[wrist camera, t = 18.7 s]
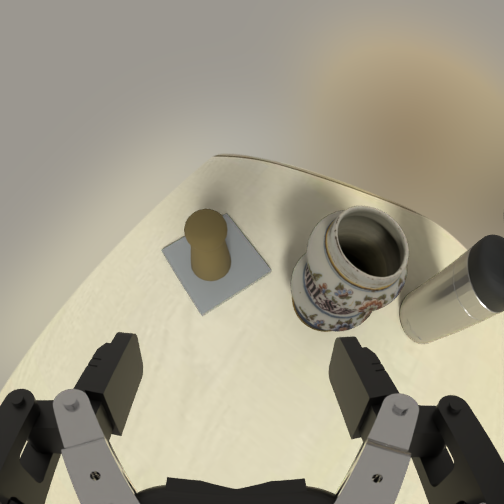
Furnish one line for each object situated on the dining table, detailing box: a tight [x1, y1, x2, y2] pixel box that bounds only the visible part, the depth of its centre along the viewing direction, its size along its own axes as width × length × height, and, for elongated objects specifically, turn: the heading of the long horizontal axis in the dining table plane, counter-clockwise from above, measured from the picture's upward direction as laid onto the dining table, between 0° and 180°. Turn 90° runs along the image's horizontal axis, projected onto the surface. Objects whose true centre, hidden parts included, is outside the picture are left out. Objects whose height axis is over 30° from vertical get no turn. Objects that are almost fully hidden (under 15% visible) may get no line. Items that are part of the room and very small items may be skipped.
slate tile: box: [162, 213, 271, 316], centre depth 44 cm, size 12×12×1 cm
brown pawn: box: [184, 209, 231, 281], centre depth 38 cm, size 6×6×11 cm
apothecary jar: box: [291, 206, 409, 332], centre depth 34 cm, size 12×12×18 cm
